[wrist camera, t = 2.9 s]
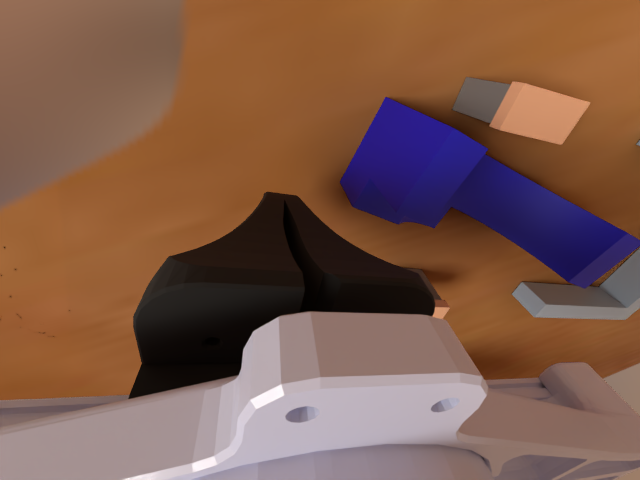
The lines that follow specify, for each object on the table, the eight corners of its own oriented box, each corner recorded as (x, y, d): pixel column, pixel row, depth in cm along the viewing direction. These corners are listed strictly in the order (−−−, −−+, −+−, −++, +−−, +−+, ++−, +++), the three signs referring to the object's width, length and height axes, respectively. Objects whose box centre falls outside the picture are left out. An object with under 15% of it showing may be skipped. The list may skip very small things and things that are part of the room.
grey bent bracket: (598, 298, 25) (625, 319, 23) (511, 294, 23) (534, 317, 21) (758, 150, 18) (817, 163, 16) (656, 119, 16) (711, 130, 14)
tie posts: (414, 284, 20) (438, 324, 18) (374, 282, 20) (392, 324, 17) (520, 89, 13) (590, 102, 11) (465, 74, 13) (524, 83, 10)
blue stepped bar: (339, 180, 15) (373, 246, 10) (384, 96, 13) (454, 128, 8) (486, 242, 19) (559, 308, 15) (538, 186, 17) (643, 242, 12)
